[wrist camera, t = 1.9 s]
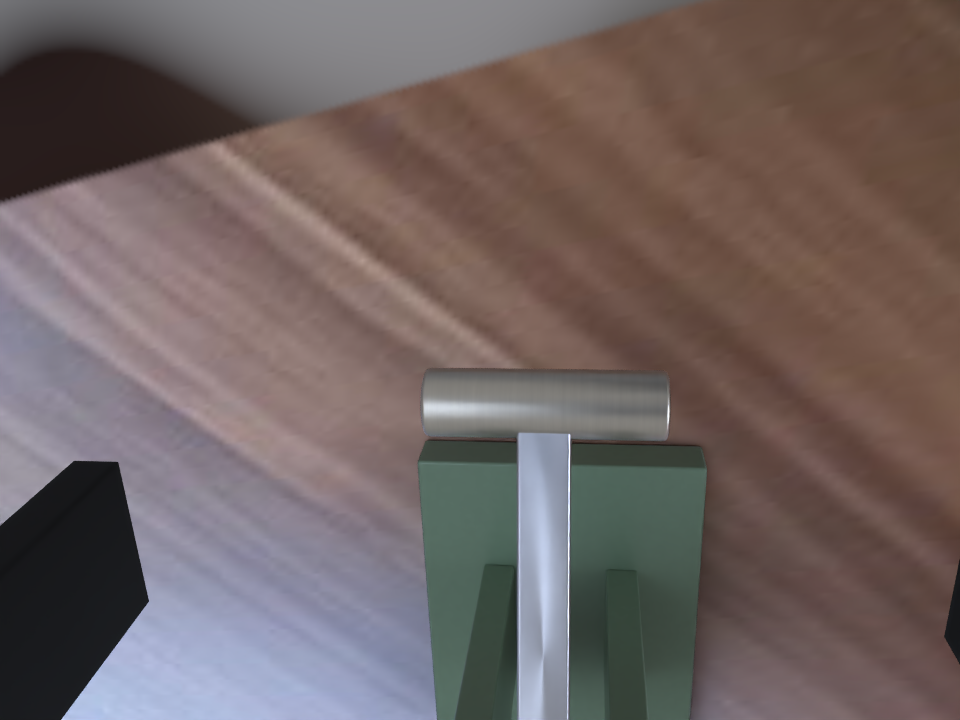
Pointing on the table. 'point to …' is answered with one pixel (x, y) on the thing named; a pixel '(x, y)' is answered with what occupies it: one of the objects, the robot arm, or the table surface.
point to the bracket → (594, 578)
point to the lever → (545, 485)
